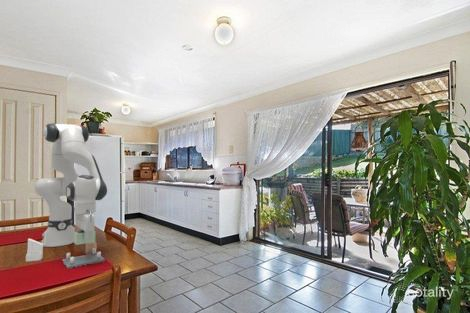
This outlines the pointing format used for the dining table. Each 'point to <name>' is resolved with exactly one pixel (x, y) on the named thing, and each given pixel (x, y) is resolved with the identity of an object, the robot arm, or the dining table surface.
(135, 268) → the dining table surface
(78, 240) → the pale green notched block
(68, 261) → the mounting plate
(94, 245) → the tan orange cube
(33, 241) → the white wedge bracket
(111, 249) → the dining table surface
